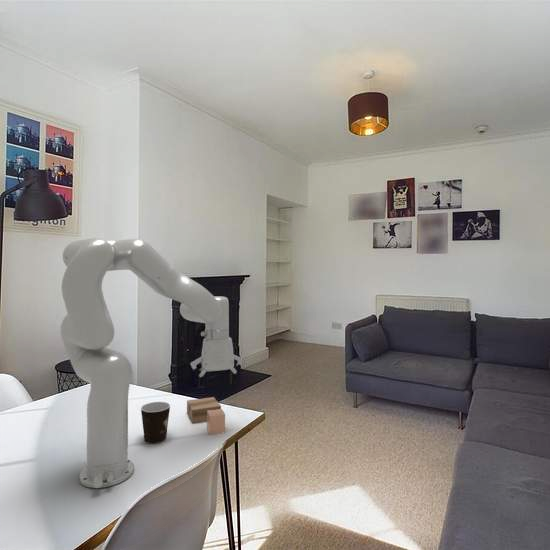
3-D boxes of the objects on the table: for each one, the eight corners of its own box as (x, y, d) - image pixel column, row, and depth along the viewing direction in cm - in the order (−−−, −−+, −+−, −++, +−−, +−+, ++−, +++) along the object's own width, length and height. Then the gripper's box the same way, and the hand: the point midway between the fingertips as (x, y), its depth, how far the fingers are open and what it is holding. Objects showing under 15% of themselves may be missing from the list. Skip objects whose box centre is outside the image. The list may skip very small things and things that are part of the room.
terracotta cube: (224, 432, 119) (225, 414, 119) (209, 435, 117) (209, 416, 117) (221, 426, 124) (222, 408, 123) (206, 428, 122) (207, 410, 122)
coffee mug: (156, 430, 120) (157, 399, 120) (175, 436, 115) (176, 405, 115) (126, 444, 110) (126, 411, 110) (145, 452, 105) (145, 417, 105)
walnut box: (220, 420, 129) (220, 406, 129) (192, 424, 125) (192, 410, 125) (213, 410, 138) (213, 397, 138) (186, 414, 134) (187, 400, 134)
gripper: (191, 338, 114) (192, 393, 114) (245, 334, 119) (246, 386, 120) (188, 334, 121) (189, 385, 121) (240, 330, 126) (240, 380, 127)
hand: (217, 386), depth 121 cm, fingers open, 9 cm apart
